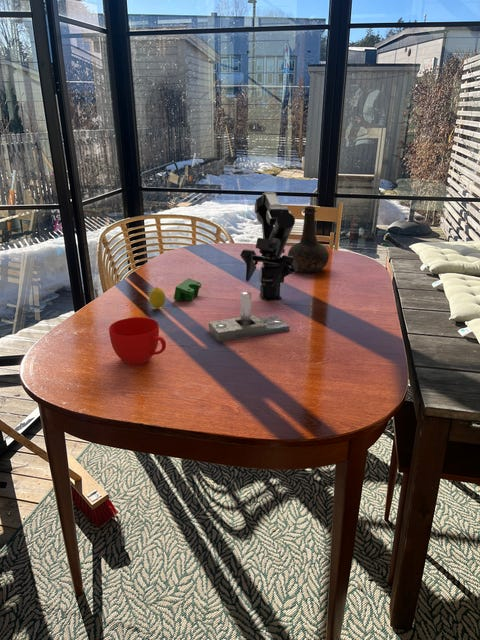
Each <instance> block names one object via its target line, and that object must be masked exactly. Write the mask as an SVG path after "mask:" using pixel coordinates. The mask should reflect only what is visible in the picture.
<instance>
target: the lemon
mask: <svg viewBox="0 0 480 640" xmlns="http://www.w3.org/2000/svg"><path fill="white" fill-rule="evenodd" d="M148 297H149V298H148V301H149V303H150V305H151V306H152V307H153V308H155V309H157V310H160V308H162V307H163V306H164V305H165V303H166V294H165V291H164V290H163V289H161V288H159V287H158V286H156V287H154V288H153V289H151V290H150V292H149V296H148Z"/></svg>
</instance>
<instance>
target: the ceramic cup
mask: <svg viewBox="0 0 480 640" xmlns="http://www.w3.org/2000/svg"><path fill="white" fill-rule="evenodd" d="M159 325H160V324H159V322H158V321H156V319H152V318H149V317H138V316H137V317H136V316H135V317H127V318H126V317H125V318H122V319H120V320H117V321H114V322H113V323H112V324H111V325H109V327H108V334H109V338H110V343H111V347H112V349H113V351H114V353H115V354H116V356H117V357H118V358H119V359H120V360H121V361H122V362H124V363H125V364H126V365H129V366H140V365H141V366H142V365H144V364H146V363H148V362H149V361H150V359H151V358H152V357H153V356H154V355H156V356H157V355H159V354H161V353H163V352H164V351H165V350H166V347H167V342H166V340H165V339H164V337H162V336H160V335H159V334H160V326H159ZM159 342H160V344H161V349H160V350H158V351H157V349H158V348H157V347H158V346H159V345H158V344H159Z"/></svg>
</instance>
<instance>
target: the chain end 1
mask: <svg viewBox="0 0 480 640" xmlns="http://www.w3.org/2000/svg"><path fill="white" fill-rule="evenodd" d="M260 319H261V318H259V317H257V316H256V314H254V315H253V314H251V324H252V325H247V326H240V325H239V324H240V316H239V317H233V318H226V319H220V320H218V319H217V320H213V321H208V332H209V333H210V334H211V333H212V334H211V335H212V336H213V337H214V339H215V340H216V341H217V342H219V343H221V342H225V341H233V340H237V339H236V334H242V333H249V332H255V331H261V330H266V324H264V323H263V322H262V321H261V320H260Z"/></svg>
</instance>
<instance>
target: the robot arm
mask: <svg viewBox="0 0 480 640" xmlns="http://www.w3.org/2000/svg"><path fill="white" fill-rule="evenodd" d="M254 214H256V215H255V216H256V220H257V221H258V222H259V223H260V224H261V230H262V231H261V233H262V237H257V238H256V239H257V240H256V243H255V249H257V250H258V249H259V251H258V252H259V253H260V254H261V255H259V254H257V253H256V252H255V250H252V249H243V250H242V251H241V253H240V254H239V256H240V257H241V259H242V261H244V263H245V266H246V270H245V271H246V274H245V281H246V282H247V283H248V282H249V281H250V279H251V278H252V276H253V274H254V272H255V270H256V269H257V265H258V263H259V262H260V263H261V267H260V268H259V273H258V280H259V283H260V284H261V285H260V286H259V287H260V291H259V292H260V294H259V296H260V297H261V298H263V300H265V301H274V300H280V299H283V297H282V296H281V284H283V283H284V282H285V278H286V277H287V276H288V275H292V274H293V273H295V274H296V273H297V272H298V271H297V269H298V264H297V262H296V260H295V258H294V257H293V256H288V255H285V252H286V250H285V247H286V244H287V242H288V240H289V237H290V235H291V232H292V231H293V228H294V225H295V224H296V223H295V222H296V218H295V216H294V215H293V214H292V212H291V210H289V207H288V206H287V205H283V204H281V202H280V200H279V199H278V194H277V192H270V191H269V192H267V191H266V192H263V193H262V194H261V196H259V197H258V198H256V200H255V202H254ZM282 254H284V255H282Z"/></svg>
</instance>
